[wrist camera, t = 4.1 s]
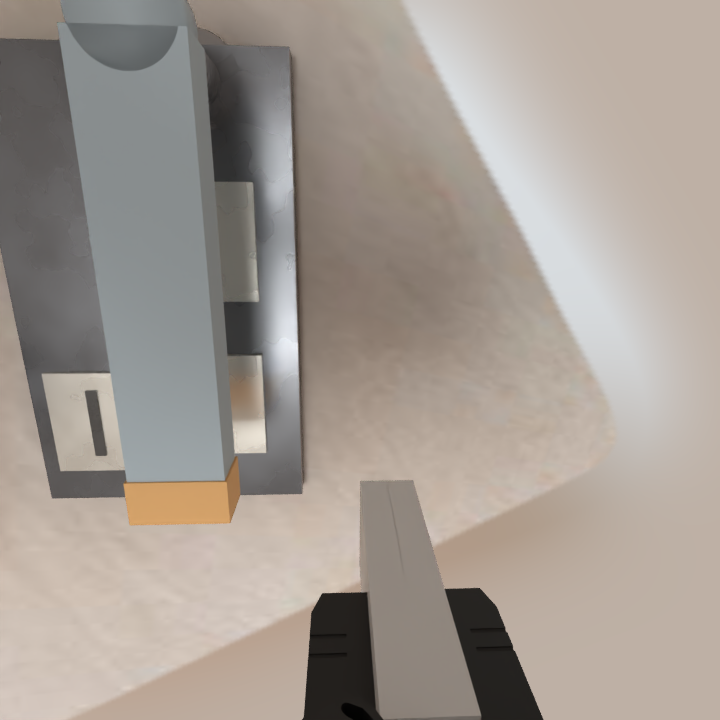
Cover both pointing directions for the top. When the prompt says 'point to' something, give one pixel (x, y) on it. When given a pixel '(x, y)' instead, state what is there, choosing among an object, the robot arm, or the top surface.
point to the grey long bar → (155, 250)
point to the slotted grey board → (78, 281)
